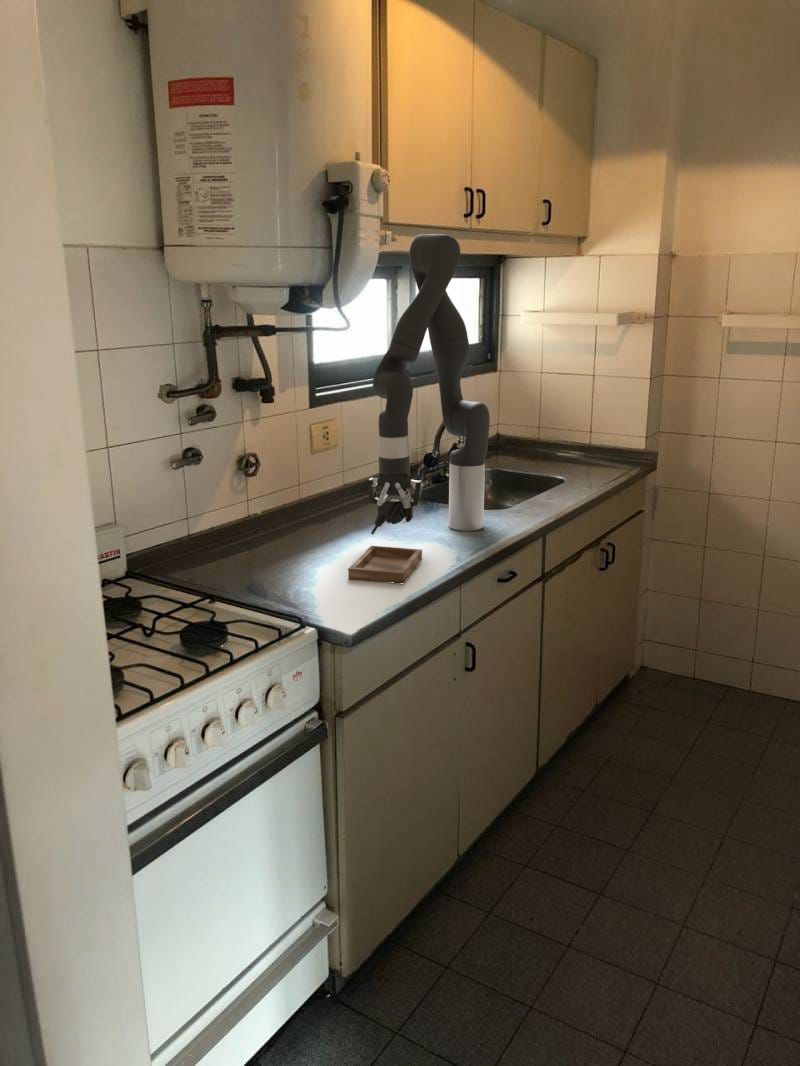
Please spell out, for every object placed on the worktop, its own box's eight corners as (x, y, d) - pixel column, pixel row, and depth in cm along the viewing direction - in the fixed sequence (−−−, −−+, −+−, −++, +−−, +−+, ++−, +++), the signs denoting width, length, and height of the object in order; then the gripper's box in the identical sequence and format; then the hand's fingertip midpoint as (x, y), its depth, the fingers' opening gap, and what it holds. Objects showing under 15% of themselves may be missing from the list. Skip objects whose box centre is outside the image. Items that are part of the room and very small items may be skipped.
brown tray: (371, 555, 202) (371, 545, 201) (422, 559, 199) (422, 549, 198) (348, 579, 186) (348, 568, 185) (403, 584, 183) (403, 573, 182)
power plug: (361, 529, 203) (384, 492, 208) (373, 549, 208) (395, 512, 213) (380, 533, 199) (403, 495, 205) (391, 552, 205) (414, 515, 210)
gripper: (426, 451, 206) (427, 518, 211) (370, 449, 210) (372, 514, 215) (419, 458, 199) (419, 526, 204) (360, 455, 203) (363, 523, 208)
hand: (395, 520), depth 209 cm, fingers closed on power plug, 6 cm apart
